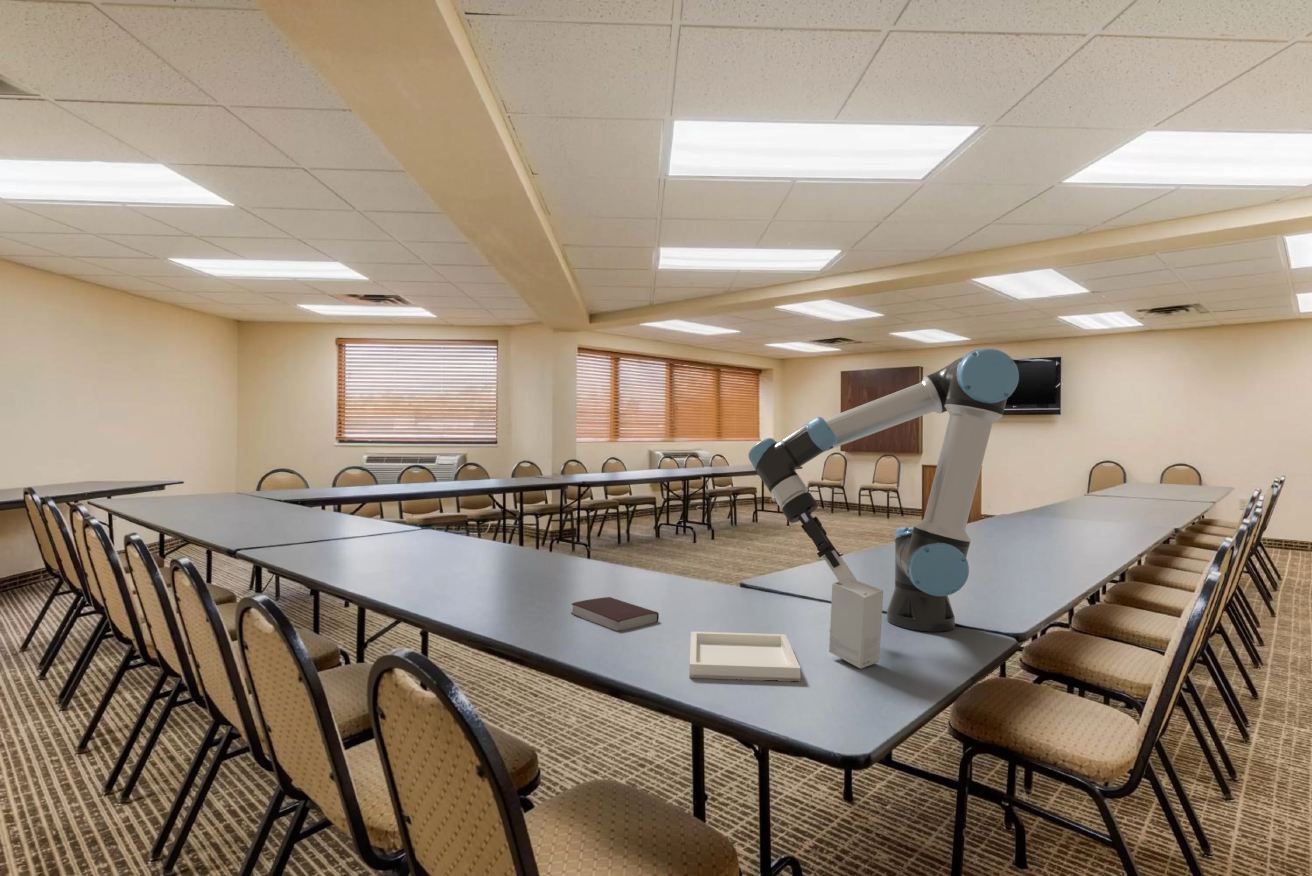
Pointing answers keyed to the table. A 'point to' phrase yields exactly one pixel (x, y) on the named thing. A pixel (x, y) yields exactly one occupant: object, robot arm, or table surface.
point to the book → (614, 613)
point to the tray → (742, 656)
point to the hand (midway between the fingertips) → (849, 583)
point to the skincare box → (856, 622)
